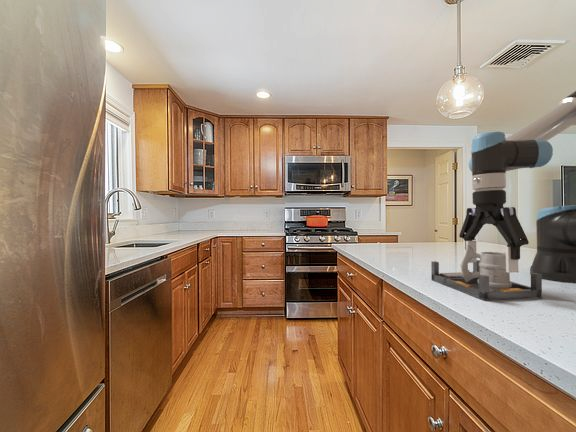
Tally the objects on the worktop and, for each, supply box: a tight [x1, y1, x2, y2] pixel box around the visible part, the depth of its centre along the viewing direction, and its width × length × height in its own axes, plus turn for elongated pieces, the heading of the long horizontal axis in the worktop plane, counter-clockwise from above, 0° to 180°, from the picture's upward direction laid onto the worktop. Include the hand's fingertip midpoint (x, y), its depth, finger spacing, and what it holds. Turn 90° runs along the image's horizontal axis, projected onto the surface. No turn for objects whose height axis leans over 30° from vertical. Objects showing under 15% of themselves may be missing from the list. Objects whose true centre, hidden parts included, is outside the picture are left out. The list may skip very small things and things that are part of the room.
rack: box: [430, 259, 543, 302], centre depth 80 cm, size 16×21×6 cm
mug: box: [459, 245, 512, 291], centre depth 78 cm, size 8×12×12 cm, turn 58°
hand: (490, 267), depth 77 cm, fingers open, 13 cm apart
